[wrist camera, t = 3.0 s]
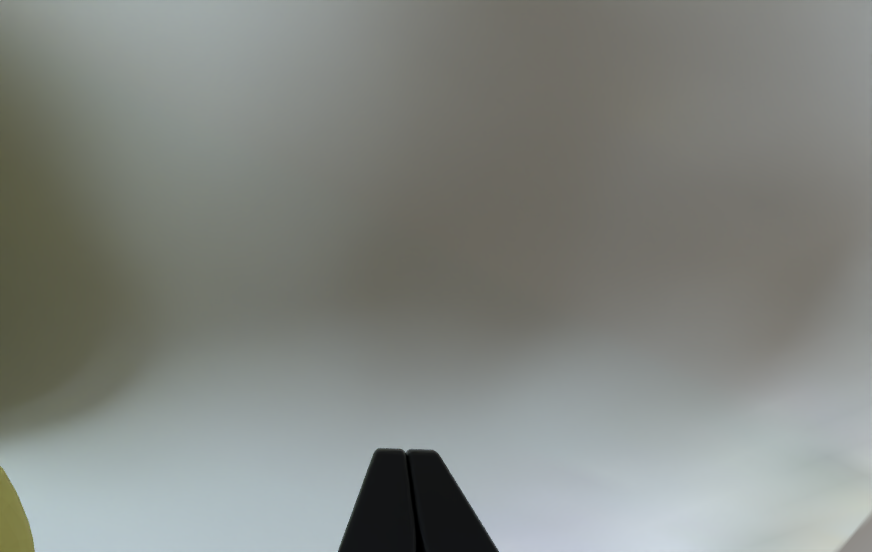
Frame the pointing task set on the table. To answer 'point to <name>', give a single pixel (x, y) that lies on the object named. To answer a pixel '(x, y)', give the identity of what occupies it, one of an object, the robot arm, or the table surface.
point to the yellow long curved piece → (13, 520)
